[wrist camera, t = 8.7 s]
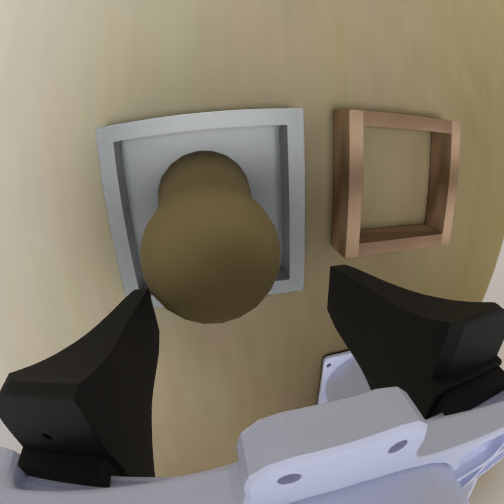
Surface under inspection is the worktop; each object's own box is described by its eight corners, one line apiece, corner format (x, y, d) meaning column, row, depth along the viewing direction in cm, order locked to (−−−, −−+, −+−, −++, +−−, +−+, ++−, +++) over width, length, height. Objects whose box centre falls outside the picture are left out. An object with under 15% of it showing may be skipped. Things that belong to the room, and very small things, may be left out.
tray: (293, 273, 24) (303, 290, 22) (135, 292, 23) (129, 310, 20) (291, 109, 19) (303, 108, 17) (106, 127, 18) (95, 128, 16)
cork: (142, 218, 20) (99, 313, 10) (183, 134, 18) (166, 148, 8) (223, 254, 22) (248, 366, 12) (267, 177, 20) (336, 236, 10)
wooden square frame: (431, 233, 25) (448, 244, 23) (331, 245, 24) (345, 258, 22) (440, 119, 21) (460, 122, 19) (332, 109, 20) (349, 109, 18)
